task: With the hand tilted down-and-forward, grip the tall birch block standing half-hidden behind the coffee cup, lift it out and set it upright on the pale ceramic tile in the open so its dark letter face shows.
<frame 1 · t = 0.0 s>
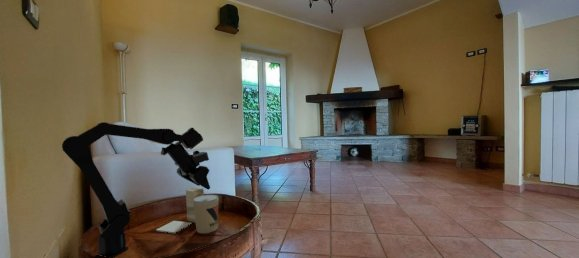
hand: (204, 186, 102), 15 cm above the table, tool tilted 35°, fingers open, 9 cm apart
letter block: (196, 219, 107), on the table
coffee cup: (207, 229, 96), on the table
ceramic tile: (174, 227, 99), on the table
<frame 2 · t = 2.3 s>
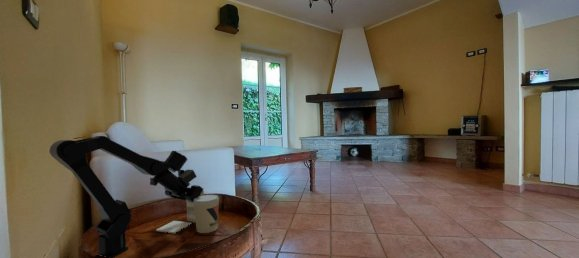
hand: (196, 201, 107), 8 cm above the table, tool tilted 45°, fingers open, 9 cm apart
coffee cup: (207, 229, 96), on the table, touching gripper
everything else where it was.
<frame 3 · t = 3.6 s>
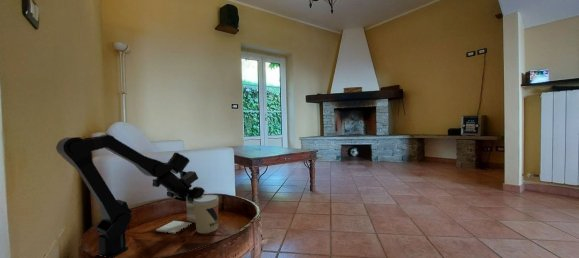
hand: (198, 202, 108), 7 cm above the table, tool tilted 45°, fingers closed on letter block, 5 cm apart
letter block: (196, 219, 107), on the table, touching gripper
coffee cup: (207, 229, 96), on the table
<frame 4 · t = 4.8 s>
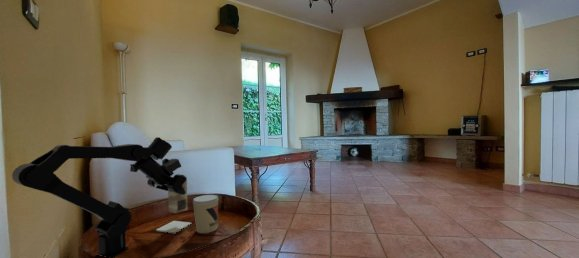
hand: (180, 192, 101), 13 cm above the table, tool tilted 45°, fingers closed on letter block, 5 cm apart
letter block: (178, 210, 100), point 6 cm above the table, touching gripper
everything else where it was.
when the fingers open (8 cm above the table, at t = 6.4 s): letter block stays where it is, resting on ceramic tile.
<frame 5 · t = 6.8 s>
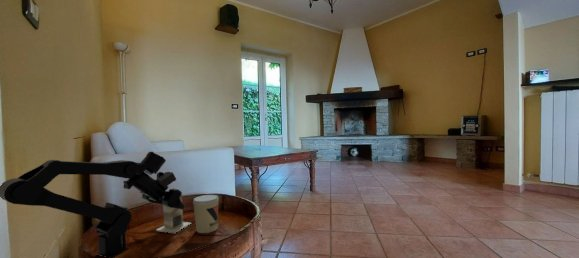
hand: (176, 206, 100), 8 cm above the table, tool tilted 45°, fingers open, 9 cm apart
letter block: (173, 226, 99), resting on ceramic tile
everything else where it was.
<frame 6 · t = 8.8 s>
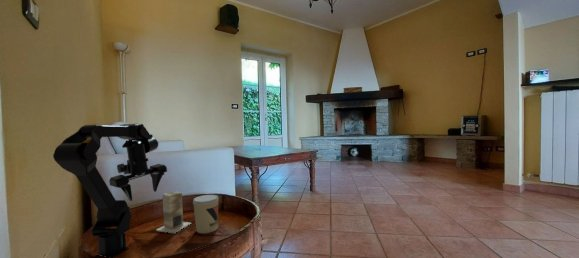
hand: (143, 195, 97), 13 cm above the table, tool pointing down, fingers open, 9 cm apart
nothing on the table moved.
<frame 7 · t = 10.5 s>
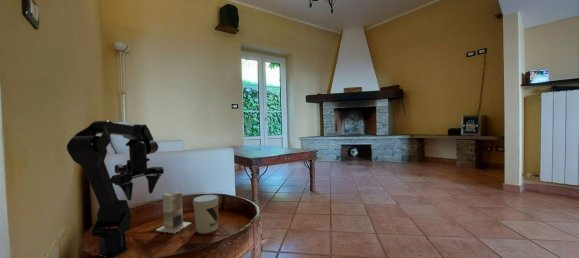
hand: (140, 196, 98), 13 cm above the table, tool pointing down, fingers open, 9 cm apart
nothing on the table moved.
at the end: letter block inside the target area on the ceramic tile (0.1 cm from its centre), point 0.5 cm above the ceramic tile's base; letter block tilted 0°; coffee cup moved 0.2 cm from its start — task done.
